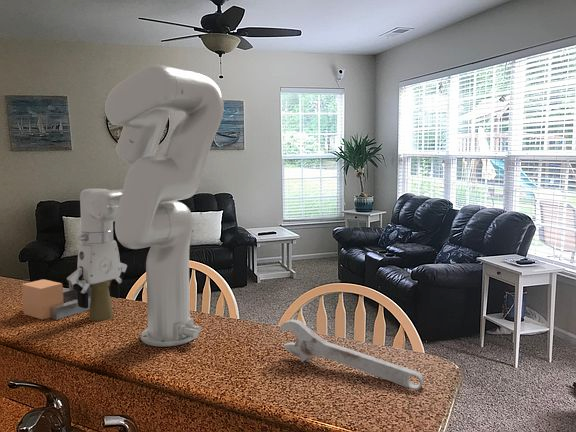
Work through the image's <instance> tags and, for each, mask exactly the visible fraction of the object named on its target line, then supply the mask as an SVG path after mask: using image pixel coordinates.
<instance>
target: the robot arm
mask: <svg viewBox="0 0 576 432" xmlns="http://www.w3.org/2000/svg"><path fill="white" fill-rule="evenodd" d="M221 91H222V90H221V89H220V87H219V86H218V84H217V83H216V82H215V81H214V80H213V79H211V78H210V77H208V76H207V75H206V74H202V73H199V72H197V71H192V70H188V69H182V68H178V67H177V68H176V67H174V66H173V67H172V66H167V65H163V64H150V65H147V66H144V67H141V69H138V70H137V71H135V72H134V73H133V74H131V75H130V76H128V77H127V78H125V79H124V80H122V81H120V82H119V83H117V84H116V85H115V86H114V87H113V88H112V89H111V90H110V91H109V93H108V95H107V97H106V99H105V104H104V113H105V116H106V118H107V120H108V122H110V123H111V125H113V126H118V127H122V130H121V133H120V135H119V139H118V141H117V144H116V147H115V151H116V153H117V155H118V157H119V158H120V159H121V160H123V161H124V162H125V163H127V164H129V165H130V167H129V169H128V171H127V173H126V176H125V179H124V183H123V187H122V189H121V188H119V189H111V190H110V189H107V188H97V187H96V188H85V189H83V190H81V192H80V194H79V202H80V203H79V204H80V226H81V227H80V229H81V230H80V231H81V232H80V233H81V234H80V235H78V237H77V240H78V241H79V242H81V243H80V244H79V248H78V253H77V267H76V270H75V271H74V272H72V273H71V274H70V275H68V276H67V277H66V281H67V283H68V285H69V284H70V286H71V288H73V289H74V290H75V291H76V292H77V301H78V306H79V307H82V308H85V309H86V308H88V307H89V306H88V293H87V292H86V290H87V289H88V287H89V285H90V284H91V285H93V284H98V283H101V282H104V281H107V280H111V283H110V286H109V293H110V298H114V299H117V300H118V299H120V298H121V287H120V286H121V283H122V282H123V278H124V276H125V275H126V271H127V268H128V265H127V264H126V263H123V262H121V260H120V252H119V247H118V243H117V241H118V242H119V243H120V245H122V246H123V247H124V248H127V249H129V250H130V249H132V250H139V249H145V248H149V247H150V248H149V251H148V252H147V256H146V261H145V275H146V276H145V278H146V279H145V280H146V309H147V311H146V313H147V328H146V329H144V330H142V332H141V333H140V339H141V341H142V342H143V344H146V345H148V346H151V347H159V348H161V347H165V348H166V347H175V346H181V345H184V344H187V343H190V342H191V341H193V340H195V339H197V338H198V337H199V334H200V333H201V332H202V330H203V329H202V327H201V326H199V325H195V324H194V321H195V320H194V317H191V298H190V297H191V296H190V248H191V247H190V246H191V240H192V239H191V238H192V234H193V226H194V220H193V219H194V218H193V214H192V212H191V210H190V208H189V207H188V206H187V205H186V204H184V203H183V202H182V201H181V200H186V199H189V198H192V197H193V196H194V195H196V192H197V190H198V188H199V185H200V183H201V179H202V176H203V174H204V173H203V172H204V171H205V167H206V165H207V161H208V157H209V154H210V150H211V147H212V144H213V142H214V139H215V137H216V135H217V132H218V131H219V128H220V125H221V123H222V120H223V117H224V116H223V115H224V108H225V107H224V105H225V104H224V97H223V93H222V92H221ZM173 111H175V112H182V113H183V112H184V113H185V116H184V117H183V118H182V119H181V120H180V121H179V123H177V125H176V126H175V128H174V129H173V131H172V133H171V135H170V137H169V142H168V145H167V147H166V151H165V153H164V154H163V155H155V154H156V152H157V151H158V150H157V149H158V147H159V144H160V143H161V142H160V141H161V139H162V137H163V134H164V131H165V128H166V126H167V123H168V121H169V118H170V114H171V112H173ZM114 231H115V237H116V238H117V241H116V240H115V239H114ZM77 278H78V280H79V283H78V284H77V282H76V279H77ZM83 284H84V285H83ZM82 286H83V287H82Z"/></svg>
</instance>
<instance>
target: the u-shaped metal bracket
mask: <svg viewBox="0 0 576 432" xmlns="http://www.w3.org/2000/svg"><path fill="white" fill-rule="evenodd" d="M76 282H77V284H78V283H79V280H78V278H77V279H76ZM83 285H84V284H83ZM82 287H83V286H82ZM91 290H92V289H91V288H90V286H89V287H88V289H87V290H86V292H87V293H88V306H89V307H88V308H86V309H85V308H82V307H79V306H78V301H77V292H76V291H75V290H74V289H73V288H71V286H70V284H69V283H68V288H66V289H64V288H63V304H59V305H56V306H52V307H50V312H51V317H50V319H51V318H53V319H52V320H55V319H56V321H58V319H59V320H61V318H62V319H65V318H67V316H68V317H71V316H74V314H75V315H77V313H78V314H80V313H83V312H86V311H87V312H88V311H90V301H91ZM64 302H65V303H64ZM64 317H65V318H64Z"/></svg>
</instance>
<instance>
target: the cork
mask: <svg viewBox="0 0 576 432" xmlns="http://www.w3.org/2000/svg"><path fill="white" fill-rule="evenodd" d="M111 282H112V281H111V280H107V281H104V282H101V283H98V284H93V285H91V284H90V285H89V286H90V288H91V289H92V290H91V301H90V310H88V311H89V312H88V320H89V321H93V322H100V321H107V320H110V319H112V318H114V310H113V305H112V300H111V298H112V297H110V283H111Z"/></svg>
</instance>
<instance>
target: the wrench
mask: <svg viewBox="0 0 576 432" xmlns="http://www.w3.org/2000/svg"><path fill="white" fill-rule="evenodd" d="M283 331H284V332H286V331H291V333H292V334H293V336H294V337H295V338H296V340H295V342H287V343H285V344H283V348H284V349H285V350H286V351H287V352H288V353H290V354H291V355H293V356H295V357H297V358H300V362H301V363H304V362H306V363H310V362H311V358H316V357H317V358H318V357H319V358H324V359H328V360H332V361H334V362H337V363H340V364H343V365H345V366H348V367H350V368H354V369H356V370H359V371H361V372H363V373H367V374H370V375H372V376H375V377H378V378H380V379H384V380H386V381H389V382H392V383H394V384H397V385H399V386H402V387H405V388H409V389H413V390H417V391H418V390H420V389H421V388H422V386H423V384H424V382H425V379H424V376H423V375H422V373H421V372H419V371H417V370H414V369H411V368H409V367H408V368H407V367H406V366H402V365H399V364H396V363H393V362H391V361H386V360H383V359H380V358H377V357H374V356H371V355H368V354H366V353H362V352H361V351H360V352H359V351H357V350H354V349H350V348H348V347H344V346H341V345H338V344H335V343H332V342H329V341H327V340H325V339H324V338H323V337H321V336H319V334H317V333H315V332H314V331H313V330H312V329H311V328H309V326H307V325H306V324H305V323H304V322H303V321H301V320H299V319H293V318H292V319H289V320H287V321H285V322H283V323H282V324H280V326H279V332H283ZM410 376H413V377H416V378H417V379H418V380H419V383H418V384H414V383H412V381H411V380H410Z"/></svg>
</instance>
